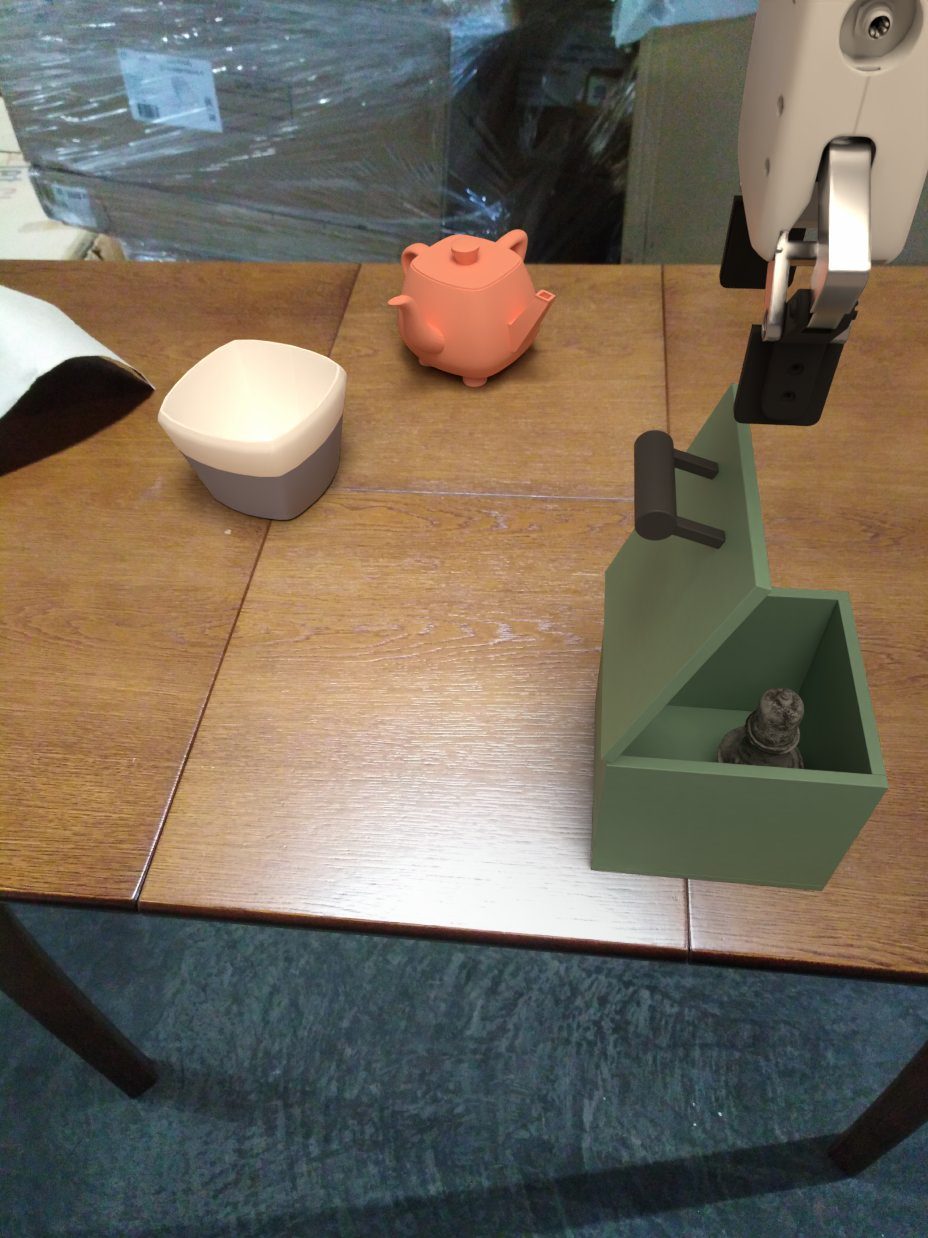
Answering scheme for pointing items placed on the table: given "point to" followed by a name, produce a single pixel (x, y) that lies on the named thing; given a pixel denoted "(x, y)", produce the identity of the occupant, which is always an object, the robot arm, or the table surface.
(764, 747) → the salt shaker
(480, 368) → the teapot
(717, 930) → the table surface
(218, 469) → the bowl
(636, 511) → the lid
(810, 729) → the chest
